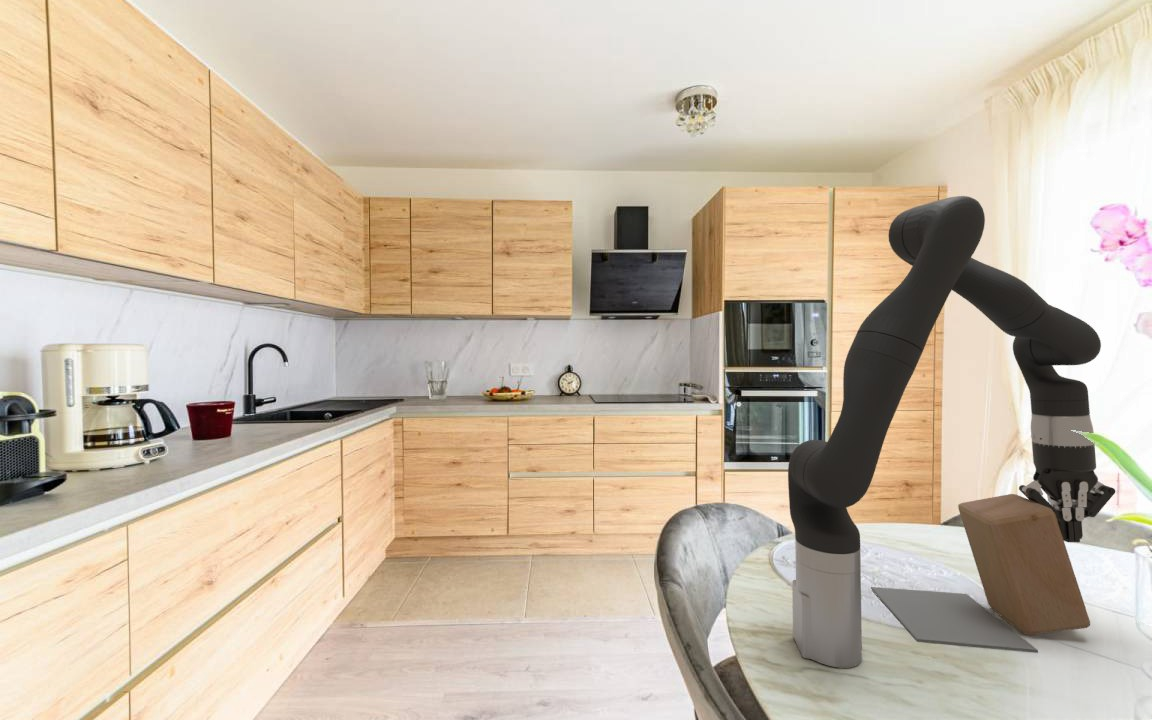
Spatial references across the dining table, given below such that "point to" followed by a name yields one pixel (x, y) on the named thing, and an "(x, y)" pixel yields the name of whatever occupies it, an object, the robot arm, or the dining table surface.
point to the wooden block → (1024, 564)
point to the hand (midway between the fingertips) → (1069, 540)
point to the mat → (950, 619)
